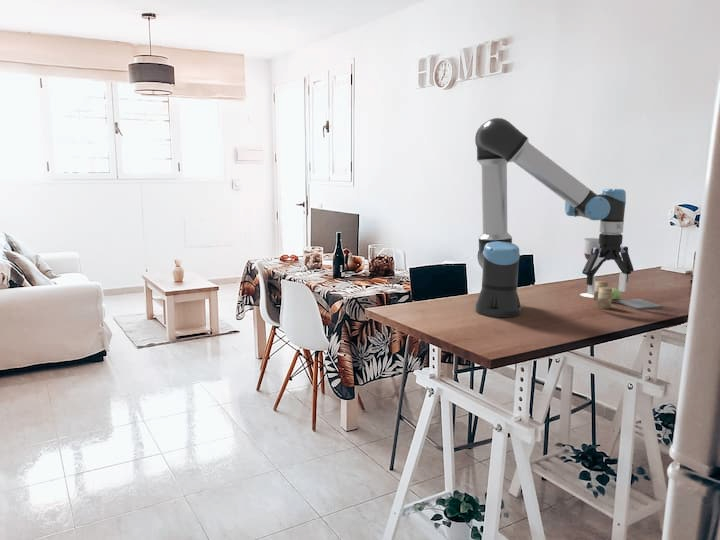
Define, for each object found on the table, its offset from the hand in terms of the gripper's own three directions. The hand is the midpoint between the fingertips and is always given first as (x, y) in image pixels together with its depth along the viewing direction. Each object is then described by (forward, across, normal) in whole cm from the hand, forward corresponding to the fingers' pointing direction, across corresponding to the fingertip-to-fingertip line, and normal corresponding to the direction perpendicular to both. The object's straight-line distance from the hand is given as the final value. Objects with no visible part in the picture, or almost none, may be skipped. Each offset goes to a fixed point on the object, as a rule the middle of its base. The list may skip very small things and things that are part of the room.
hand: (606, 292), depth 200 cm
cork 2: (+5, 0, 0) cm, 5 cm away
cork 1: (+5, +6, +10) cm, 13 cm away
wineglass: (+6, +8, +17) cm, 20 cm away
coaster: (+6, +15, 0) cm, 16 cm away
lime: (+6, +12, +9) cm, 16 cm away
